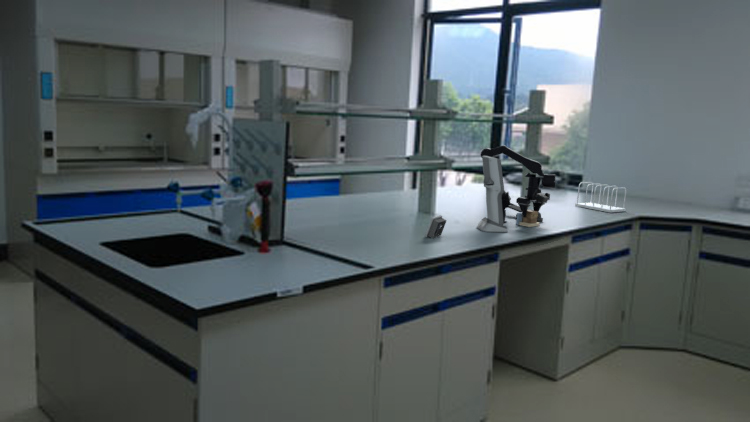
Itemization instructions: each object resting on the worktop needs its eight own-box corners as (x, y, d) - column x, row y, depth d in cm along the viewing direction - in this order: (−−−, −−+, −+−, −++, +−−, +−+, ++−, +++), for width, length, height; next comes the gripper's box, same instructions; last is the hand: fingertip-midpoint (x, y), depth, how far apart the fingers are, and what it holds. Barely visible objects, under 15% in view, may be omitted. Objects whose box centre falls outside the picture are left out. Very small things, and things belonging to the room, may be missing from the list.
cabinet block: (538, 223, 305) (539, 211, 304) (532, 224, 302) (533, 212, 301) (528, 221, 309) (529, 209, 308) (522, 221, 306) (523, 210, 305)
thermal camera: (473, 226, 292) (480, 155, 286) (498, 227, 295) (505, 156, 289) (483, 232, 281) (490, 157, 275) (508, 232, 284) (516, 158, 278)
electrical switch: (434, 234, 270) (437, 214, 267) (444, 237, 267) (447, 217, 265) (424, 237, 262) (427, 216, 260) (434, 240, 259) (438, 219, 257)
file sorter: (625, 211, 375) (629, 187, 372) (610, 213, 364) (614, 188, 361) (590, 204, 394) (593, 181, 391) (574, 206, 383) (577, 182, 381)
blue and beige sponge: (540, 225, 307) (541, 214, 306) (527, 227, 300) (528, 215, 299) (528, 222, 313) (530, 211, 312) (515, 224, 306) (517, 212, 305)
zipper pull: (510, 202, 337) (546, 210, 317) (509, 213, 338) (545, 222, 318) (499, 202, 331) (535, 210, 312) (498, 214, 332) (534, 223, 313)
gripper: (536, 189, 291) (532, 221, 293) (557, 188, 303) (554, 218, 305) (517, 186, 299) (513, 216, 302) (539, 184, 311) (535, 214, 314)
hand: (530, 216), depth 305 cm, fingers open, 9 cm apart
